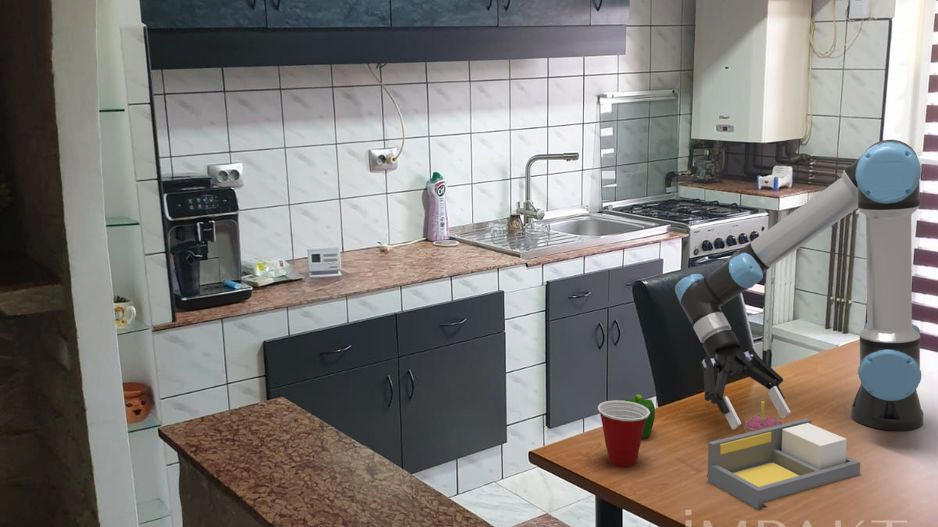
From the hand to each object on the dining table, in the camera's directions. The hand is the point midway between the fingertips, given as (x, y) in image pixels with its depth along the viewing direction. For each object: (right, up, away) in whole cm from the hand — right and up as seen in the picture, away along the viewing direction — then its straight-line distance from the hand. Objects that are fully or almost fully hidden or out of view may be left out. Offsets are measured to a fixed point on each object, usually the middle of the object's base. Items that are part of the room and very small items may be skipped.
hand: (761, 421), depth 191 cm
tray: (-1, -9, -15) cm, 17 cm away
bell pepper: (-25, -5, +11) cm, 28 cm away
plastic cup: (-30, -8, -3) cm, 31 cm away
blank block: (+6, -7, -12) cm, 15 cm away
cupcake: (+1, -6, +1) cm, 6 cm away
